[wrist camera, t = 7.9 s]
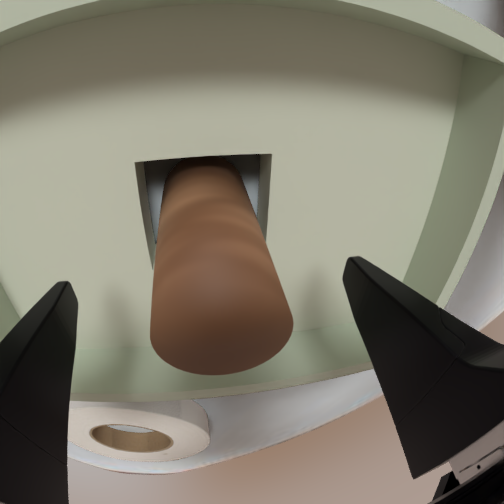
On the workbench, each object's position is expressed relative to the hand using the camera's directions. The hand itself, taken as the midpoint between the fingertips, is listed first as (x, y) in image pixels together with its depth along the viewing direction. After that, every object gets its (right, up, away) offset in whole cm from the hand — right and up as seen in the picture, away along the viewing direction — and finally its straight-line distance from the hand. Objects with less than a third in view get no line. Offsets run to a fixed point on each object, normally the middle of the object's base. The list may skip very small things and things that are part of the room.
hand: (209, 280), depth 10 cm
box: (-1, +3, +4) cm, 6 cm away
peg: (-1, +4, +4) cm, 6 cm away
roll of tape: (-11, -15, +17) cm, 25 cm away
